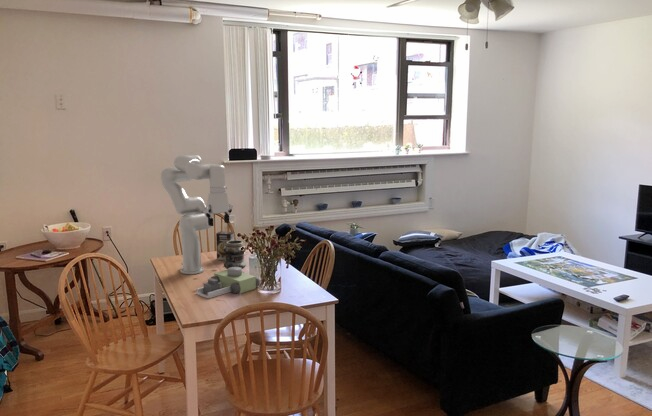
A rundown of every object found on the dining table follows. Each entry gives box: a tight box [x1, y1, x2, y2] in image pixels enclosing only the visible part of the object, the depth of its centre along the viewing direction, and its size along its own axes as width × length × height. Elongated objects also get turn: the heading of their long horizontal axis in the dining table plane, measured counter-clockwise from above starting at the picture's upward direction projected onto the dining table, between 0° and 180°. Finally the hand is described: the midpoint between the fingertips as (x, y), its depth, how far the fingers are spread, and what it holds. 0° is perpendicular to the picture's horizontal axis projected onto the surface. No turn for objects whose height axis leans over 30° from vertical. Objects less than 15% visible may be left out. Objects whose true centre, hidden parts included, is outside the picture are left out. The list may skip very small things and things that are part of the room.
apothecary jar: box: [223, 239, 247, 273], centre depth 274 cm, size 12×12×18 cm
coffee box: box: [215, 230, 235, 261], centre depth 305 cm, size 9×6×16 cm
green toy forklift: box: [195, 267, 261, 299], centre depth 250 cm, size 21×26×9 cm
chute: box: [202, 277, 221, 296], centre depth 245 cm, size 6×5×7 cm
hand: (219, 224), depth 256 cm, fingers open, 9 cm apart
